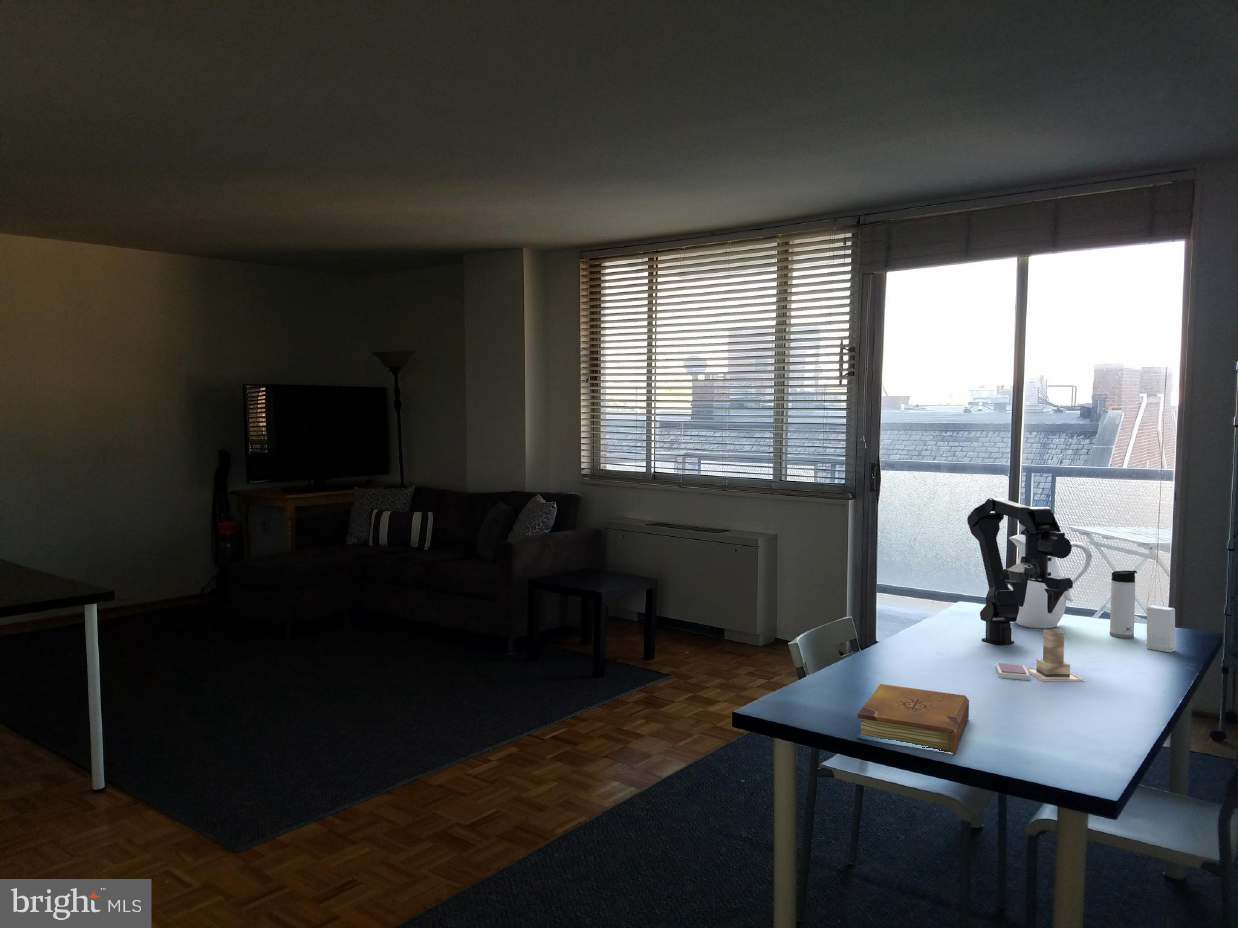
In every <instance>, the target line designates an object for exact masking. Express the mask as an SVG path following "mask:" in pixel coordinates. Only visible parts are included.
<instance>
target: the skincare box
mask: <svg viewBox="0 0 1238 928" xmlns="http://www.w3.org/2000/svg"><path fill="white" fill-rule="evenodd" d="M1146 649H1147V650H1148V649H1149V650H1154V651H1160V652H1166V653H1172V652H1175V650H1176V609H1175V608H1174V607H1169V606H1168V607H1167V606H1161V605H1149V606H1147V607H1146Z"/></svg>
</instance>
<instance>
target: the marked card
mask: <svg viewBox="0 0 1238 928" xmlns="http://www.w3.org/2000/svg"><path fill="white" fill-rule="evenodd" d="M1026 669H1027V671H1028V673H1029V675H1032V676H1033V677H1034V678H1036V679H1038V680H1039V681H1041V682H1086V680H1084V679H1083V678H1081V677H1079V676H1078V675H1076V674H1074V673H1073V672H1071V671H1070V677H1045V676H1043V675H1041V674H1040V673H1038V672H1036V667H1035V668H1033V667H1029V668H1028V667H1026Z"/></svg>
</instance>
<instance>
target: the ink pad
mask: <svg viewBox="0 0 1238 928" xmlns="http://www.w3.org/2000/svg"><path fill="white" fill-rule="evenodd" d="M994 667H995V671H996V673H997V675H998V678H999V679H1000V678H1001V679H1012V680H1024V681H1030V680H1031V679H1030V678H1031V676H1030V675H1031V674H1030V673H1028V671H1027V669H1026V668H1027V667H1026V665H1022V664H1013V663H995V666H994Z"/></svg>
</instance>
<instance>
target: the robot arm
mask: <svg viewBox="0 0 1238 928" xmlns="http://www.w3.org/2000/svg"><path fill="white" fill-rule="evenodd" d="M1005 516H1006V517H1008V518H1012V519H1015V520H1016V521H1018V524H1020V525H1021V526H1022V527H1024V529H1022V530H1021V531H1020V535H1024V536H1025V556H1022V558H1021V562H1020V563H1019V564H1017V563H1015V564H1014V565H1012V566H1011V567H1009V568H1004V566H1003V562H1002V557H1001V553H1000V549H999V543H998V541H997V537H998V534H999V532H1000V529H1001V528H1000V527H1001V526H1000V523H1001V522H1002V521H1003V520H1004V518H1005ZM966 521H967V524H968V528H969V531H970V533H971V535H972V536H973V537H974V538H975V539H976V540H977V541H978V544H979V548H980V553H981V557H982V561H983V566H984V570H985V576H986V581H987V584H988V591H987V594H986V596H985V605H984V607H983V608H981V610H980V612H979V618H980V621H983V622H985V637H984V638H981V641H983V642H986V643H990V644H992V645H997V646H1001V645H1010V644H1015V640H1012V633H1013V632H1012V627H1011V626H1012V623H1016V620H1017V616H1018V613H1019V606H1020V607H1023V605H1024V602H1025V596H1026V590H1027V584H1028V581H1027V580H1029V581H1034V582H1039V583H1044V584H1045V585H1046V587H1047V589H1044V590H1045V591H1046V593H1047V609H1048V613H1052V612H1053V610H1054V608H1055V606H1056V605H1057V603H1058V601H1059V599H1060V598H1061V596H1062V595H1063V594H1064V592H1065V591H1068V589H1070V590H1071V589H1074V585H1073V581H1072V578H1071V577H1067V576H1062V575H1061V576H1053V577H1048V576H1051V572H1048V561H1051V558H1052V557H1055V559H1056V558H1057V559H1062V560H1063V559H1065V558H1067V557H1068V556H1069V555H1070V554H1071V553H1072V548H1073V547H1072V545H1071V543H1070V542H1071V541H1070V540H1069V539H1068V538H1067V537H1066V532H1063V531H1061V526H1060V525H1059V523H1058V521H1057V519H1056V517H1055V515H1054V513H1053V511H1052V509H1051V508H1050V507H1048V506H1028V505H1024V504H1020V503H1018V502H1014V501H1012V500H1010V499H1009V500H1008V499H1006V498H1004V497H990V498H988V499H986V501H985V502H984V503H982V504H980V505H978V506H977V507H975V508H973V510H971V512H970V513H969V514H968V516H967V520H966ZM1048 556H1051V557H1048ZM1039 579H1041V580H1039ZM1008 584H1009V585H1011V586H1012V588H1013V590H1011V589H1010V588H1009V587H1008Z"/></svg>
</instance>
